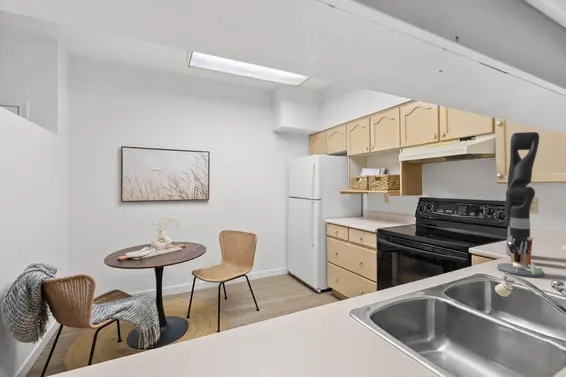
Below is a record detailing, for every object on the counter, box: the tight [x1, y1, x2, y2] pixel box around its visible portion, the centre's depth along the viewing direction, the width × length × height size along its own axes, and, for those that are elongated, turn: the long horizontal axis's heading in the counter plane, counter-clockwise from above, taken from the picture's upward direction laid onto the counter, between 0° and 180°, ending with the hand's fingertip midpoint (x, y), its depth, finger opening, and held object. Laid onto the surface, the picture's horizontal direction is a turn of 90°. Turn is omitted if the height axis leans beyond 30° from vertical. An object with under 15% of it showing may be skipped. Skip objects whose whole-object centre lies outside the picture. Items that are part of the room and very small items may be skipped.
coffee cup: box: [516, 235, 534, 265], centre depth 146 cm, size 8×8×15 cm
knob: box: [510, 253, 535, 271], centre depth 130 cm, size 10×5×7 cm, turn 7°
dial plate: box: [496, 262, 544, 279], centre depth 131 cm, size 17×17×4 cm
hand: (519, 261), depth 131 cm, fingers closed on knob, 2 cm apart
